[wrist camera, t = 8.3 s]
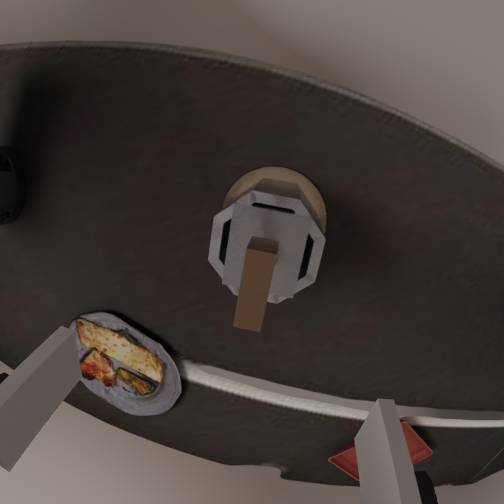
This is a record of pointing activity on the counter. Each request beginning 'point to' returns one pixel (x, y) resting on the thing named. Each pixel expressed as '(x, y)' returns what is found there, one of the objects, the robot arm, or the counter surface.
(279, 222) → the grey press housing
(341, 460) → the plant saucer
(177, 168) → the counter surface
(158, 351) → the food plate
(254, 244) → the plunger
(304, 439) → the counter surface
